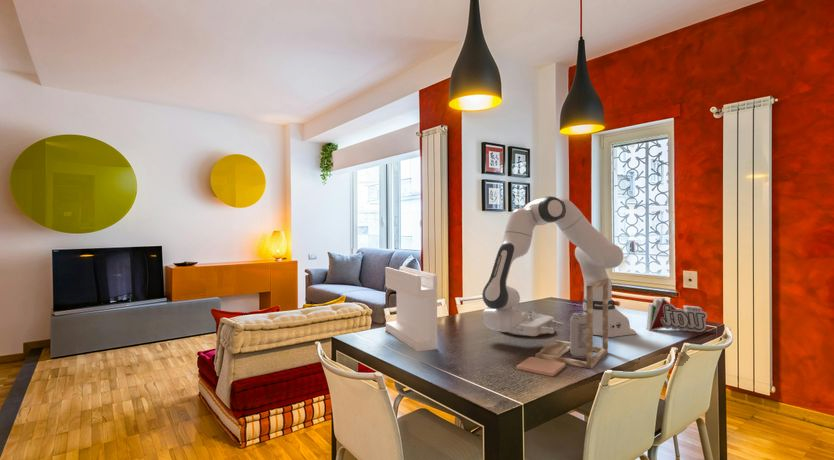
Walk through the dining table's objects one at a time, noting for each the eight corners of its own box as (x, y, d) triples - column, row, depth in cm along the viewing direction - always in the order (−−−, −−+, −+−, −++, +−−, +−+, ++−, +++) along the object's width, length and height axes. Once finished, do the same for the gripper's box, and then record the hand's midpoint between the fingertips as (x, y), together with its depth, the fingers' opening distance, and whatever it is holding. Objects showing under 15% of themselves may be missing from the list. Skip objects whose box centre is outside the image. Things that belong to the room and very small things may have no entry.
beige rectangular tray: (570, 348, 164) (570, 344, 164) (557, 358, 152) (557, 354, 152) (551, 345, 168) (551, 341, 168) (536, 355, 156) (537, 350, 156)
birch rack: (607, 352, 160) (608, 278, 159) (591, 368, 142) (591, 285, 141) (556, 343, 171) (557, 274, 170) (535, 358, 153) (535, 281, 153)
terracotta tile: (565, 366, 144) (565, 363, 144) (552, 376, 135) (552, 373, 135) (530, 359, 151) (530, 356, 151) (516, 368, 142) (516, 365, 142)
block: (437, 348, 164) (437, 274, 164) (417, 351, 161) (417, 275, 161) (402, 328, 196) (402, 266, 196) (385, 330, 193) (385, 267, 193)
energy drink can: (580, 353, 159) (580, 312, 158) (592, 357, 153) (592, 315, 153) (566, 354, 157) (566, 313, 157) (577, 359, 151) (577, 316, 151)
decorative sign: (701, 335, 191) (705, 301, 191) (704, 337, 189) (708, 302, 188) (646, 329, 193) (649, 295, 193) (648, 330, 191) (652, 296, 190)
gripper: (510, 319, 159) (548, 325, 151) (532, 310, 176) (567, 314, 167) (510, 337, 159) (548, 343, 151) (532, 326, 176) (567, 331, 167)
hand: (558, 328), depth 159 cm, fingers open, 8 cm apart
